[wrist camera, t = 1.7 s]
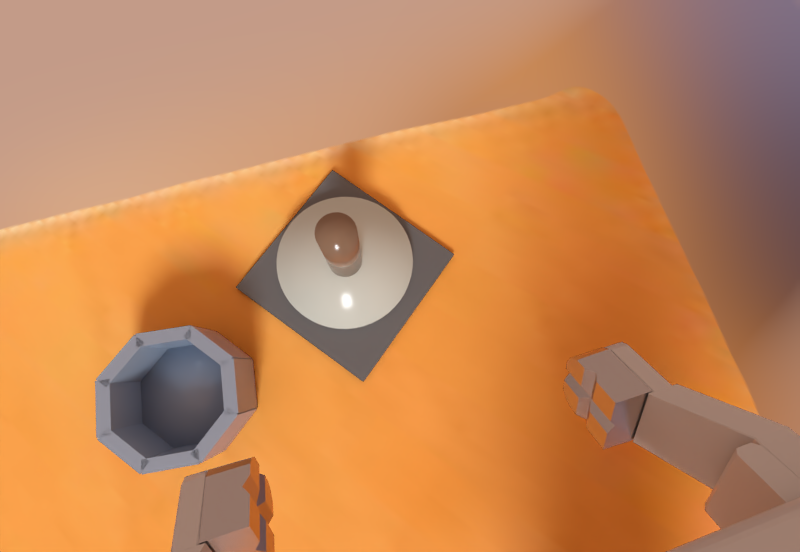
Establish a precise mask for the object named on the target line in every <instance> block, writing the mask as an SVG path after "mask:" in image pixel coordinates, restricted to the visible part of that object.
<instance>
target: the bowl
mask: <svg viewBox="0 0 800 552" xmlns="http://www.w3.org/2000/svg"><path fill="white" fill-rule="evenodd" d="M251 359H252V358H251V357H250V356H248V355H247V354H246V353H244V352H243V351H242V350H241V349H239V348H238V347H237V346H235V345H234V344H233V343H231V342H230V341H229V340H227V339H226V338H225V337H223V336H222V335H221V334H219V333H218V332H217V331H213V330H209V329H204V328H200V327H195V326H191V325H189V326H183V327H176V328H170V329H164V330H157V331H151V332H145V333H138V334H136V335H134V336H133V337H132V338H131V339H130V340H129V341H128V343H127V344H126V345H125V346H124V347H123V348H122V350H121V351H120V352H119V353H118V354H117V355H116V357H115V358H114V359H113V360H112V361H111V362H110V364H109V365H108V366H107V367H106V368H105V369H104V371H103V372H102V373H101V374H100V375H99V376H98V378H97V379H96V380H97V381H95V391H96V436H97V438H98V439H97V440H99V441H100V442H101V443H102V444H103V445H105V446H106V447H107V448H108V449H110V450H111V451H112V452H113V453H115V454H116V455H117V456H118V457H120V458H121V459H122V460H123V461H124V462H126V463H127V464H128V465H129V466H131V467H132V468H133V469H134V470H136V471H137V472H138V473H139V474H141V473H142V474H146V473H152V472H157V471H163V470H168V469H174V468H179V467H185V466H190V465H196V464H200V463H202V462H204V461H206V460H208V459H210V458H212V457H213V456H215V455H217V454H219V453H221V452H223V451H224V450H226V449H227V448H228V446H229V445H230V444H231V442H232V441H233V440H234V438H235V437H236V436H237V434H238V433H239V432H240V430H241V429H242V428H243V427H244V425H245V424H246V423H247V421H248V420H249V419H250V417H251V416H252V415H253V413H254V412H255V411H256V409H257V408H256V407H257V397H256V386H255V376H254V365H253V360H251Z"/></svg>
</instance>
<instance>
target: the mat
mask: <svg viewBox="0 0 800 552" xmlns="http://www.w3.org/2000/svg"><path fill="white" fill-rule="evenodd" d="M335 197H356V198H362V199H365V200H368V201H371V202H373V203H376V204H378V205H380V206H381V207H383V208H384V209H386V210H387V211H388V212H390V213H391V214H392V215H393V216H394V217H395V218H396V219H397V220H398V221H399V223H400V224H401V225H402V227H403V228H404V230H405V232H406V234H407V236H408V239H409V241H410V245H411V249H412V256H413V268H412V274H411V278H410V282H409V285H408V287H407V290H406V292H405V294H404V296H403V297H402V299H401V300H400V302H399V303H398V304H397V306H396V307H395V308H394V309H393V310H392V311H391V312H390V313H389V314H387V315H386V316H385V317H383V318H382V319H380V320H378V321H376V322H375V323H373V324H370V325H367V326H364V327H360V328H356V329H334V328H328V327H325V326H322V325H319V324H317V323H315V322H313V321H311V320H309V319H308V318H306V317H305V316H303V315H302V314H301V313H300V312H298V311H297V310H296V309H295V308H294V307H293V306H292V304H291V303H290V302H289V301H288V299H287V298H286V296H285V294H284V292H283V290H282V288H281V286H280V283H279V280H278V274H277V263H276V262H277V252H278V248H279V244H280V242H281V239H282V236H283V235H284V233H285V231H286V229H287V228H288V226H289V225H290V223H291V222H292V221H293V220H294V219H295V218H296V217H297V216H298V215H299V214H300V213H301V212H303V211H304V210H305V209H307V208H308V207H310V206H311V205H314V204H316V203H318V202H320V201H323V200H326V199H330V198H335ZM453 255H454V254H453V253H451V252H450V251H449V250H447V249H446V248H444V247H443V246H441V245H440V244H438V243H437V242H436V241H434V240H433V239H431V238H430V237H428V236H427V235H425V234H424V233H423V232H421V231H420V230H418V229H417V228H415V227H414V226H412V225H411V224H410V223H408V222H407V221H405V220H404V219H402V218H401V217H399V216H398V215H397V214H395V213H394V212H392V211H391V210H389V209H388V208H387V207H385V206H384V205H382V204H381V203H379V202H378V201H376V200H375V199H374V198H372V197H371V196H369V195H368V194H366V193H365V192H363V191H362V190H361V189H359V188H358V187H356V186H355V185H353V184H352V183H350V182H349V181H348V180H346V179H345V178H343V177H342V176H340V175H339V174H337V173H336V172H335V171H333V170H332V171H331V173H330V174H329V175H328V176H327V177H326V179H325V180H324V181H323V182H322V184H321V185H320V186H319V187H318V188H317V190H316V191H315V192H314V193H313V194H312V196H311V197H310V198H309V199H308V201H307V202H306V203H305V204H304V205H303V207H302V208H301V209H300V210H299V211H298V213H297V214H296V215H295V216H294V218H293V219H292V220H291V221H290V222H289V224H288V225H287V226H286V227H285V228H284V230H283V231H282V232H281V233H280V235H279V236H278V237H277V238H276V239H275V241H274V242H273V243H272V244H271V245H270V247H269V248H268V249H267V250H266V252H265V253H264V254H263V255H262V256H261V258H260V259H259V260H258V261H257V262H256V264H255V265H254V266H253V267H252V269H251V270H250V271H249V272H248V273H247V275H246V276H245V277H244V278H243V279H242V281H241V282H240V283H239V284H238V286H237V287H236V288H237V289H239V290H240V291H241V292H243V293H244V294H246V295H247V296H248V297H250V298H251V299H252V300H254V301H255V302H256V303H258V304H259V305H260V306H262V307H263V308H264V309H266V310H267V311H268V312H270V313H271V314H273V315H274V316H275V317H277V318H278V319H279V320H281V321H282V322H283V323H285V324H286V325H287V326H289V327H290V328H291V329H293V330H294V331H295V332H297V333H298V334H299V335H301V336H302V337H304V338H305V339H306V340H308V341H309V342H310V343H312V344H313V345H314V346H316V347H317V348H318V349H320V350H321V351H322V352H324V353H325V354H326V355H328V356H329V357H331V358H332V359H333V360H335V361H336V362H337V363H339V364H340V365H341V366H343V367H344V368H345V369H347V370H348V371H349V372H351V373H352V374H353V375H355V376H356V377H358V378H359V379H360V380H362V381H363V382H364V380H365V379H366V377H367V376H368V375H369V373H370V372H371V370H372V369H373V368H374V366H375V365H376V363H377V362H378V361H379V359H380V358H381V356H382V355H383V354H384V352H385V351H386V349H387V348H388V347H389V345H390V344H391V342H392V341H393V340H394V338H395V337H396V335H397V334H398V332H399V331H400V330H401V328H402V327H403V325H404V324H405V323H406V321H407V320H408V318H409V317H410V316H411V314H412V313H413V311H414V310H415V309H416V307H417V306H418V304H419V303H420V302H421V300H422V299H423V297H424V296H425V295H426V293H427V292H428V290H429V289H430V288H431V286H432V285H433V283H434V282H435V281H436V279H437V278H438V276H439V275H440V273H441V272H442V271H443V269H444V268H445V266H446V265H447V264H448V262H449V261H450V259H451V258H452V257H453Z"/></svg>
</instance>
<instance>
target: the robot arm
mask: <svg viewBox="0 0 800 552" xmlns="http://www.w3.org/2000/svg"><path fill="white" fill-rule="evenodd" d="M566 369H567V370H568V371H569V375H568V376H567V377H566V378H565V380H564V387H563V389H564V393H565V397H566V400H567V402H568V404H569V405H570V407H571V408H572V410H573V411H574V412H575V414H577V415H579V416H581V417H583V418H585V419H586V428H587V429H588V431H589V432H590V433H591V435H592V436H593V437H594V438H595V440H596V441H597V442H598V444H599V445H600V446H601V447H602V449H606V448H609V447H612V446H615V445H618V444H622V443H625V442H628V441H631V440H633V442H634V443H636V444H638V445H639V446H641V447H643V448H644V449H646V450H648V451H649V452H651V453H653V454H654V455H656V456H658V457H659V458H661V459H663V460H664V461H666V462H668V463H670V464H671V465H673V466H675V467H676V468H678V469H680V470H681V471H683V472H685V473H686V474H688V475H690V476H691V477H693V478H695V479H697V480H698V481H700V482H702V483H703V484H705V485H707V486H708V487H710V488H712V489H713V490H712V492H711V494H710V496H709V497H708V499H707V501H706V503H705V511H706V512H707V513H708V514H709V516H710V517H711V518H712V519H713V520H714V521H715V523H716V524H717V525H718V526H719V527H720V528H721V529H720V530H718V531H715V532H713V533H710V534H708V535H705V536H703V537H700V538H698V539H696V540H693V541H691V542H688V543H686V544H683V545H681V546H678V547H676V548H674V549H671V550H669V551H666V552H800V436H799V435H798V434H797V433H795V432H794V431H793V430H792V429H790V428H789V427H787V426H784V425H782V424H779V423H777V422H774V421H771V420H769V419H766V418H764V417H761V416H759V415H756V414H753V413H751V412H748V411H746V410H743V409H740V408H738V407H735V406H733V405H730V404H727V403H725V402H722V401H720V400H717V399H715V398H712V397H709V396H707V395H704V394H702V393H699V392H696V391H694V390H691V389H689V388H686V387H684V386H681V385H678V384H675V385H671V384H670V383H669V382H668V381H667V380H665V379H664V378H663V377H662V376H661V375H660V374H659V373H658V372H657V371H656V370H655V369H654V368H652V367H651V366H650V365H649V364H648V363H647V362H646V361H645V360H644V359H643V358H642V357H641V356H639V355H638V354H637V353H636V352H635V351H634V350H633V349H632V348H631V347H630V346H629V345H627V344H625V343H623V342H620V343H616V344H613V345H610V346H607V347H604V348H599V349H596V350H593V351H590V352H587V353H584V354H581V355H578V356H575V357H572V358H570V359H569V360H568V361H567V366H566ZM272 517H273V501H272V495H271V490H270V486H269V483H268V481H267V479H266V477H265V475H262V474H259V464H258V462H257V460H256V459H255V457H252V458H248V459H245V460H241V461H238V462H234V463H231V464H228V465H224V466H221V467H217V468H214V469H210V470H206V471H203V472H200V473H197V474H193V475H190V476H187V477H185V478H184V481H183V483H182V485H181V490H180V497H179V503H178V509H177V516H176V522H175V529H174V535H173V542H172V548H171V552H275V551H274V534H273V532H272V531H271V529H270V527H269V525H268V524H269V522H270V521H271V519H272Z"/></svg>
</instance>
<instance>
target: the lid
mask: <svg viewBox="0 0 800 552" xmlns="http://www.w3.org/2000/svg"><path fill="white" fill-rule="evenodd" d="M276 263H277V274H278V280H279V283H280V286H281V288H282V290H283V292H284V294H285V296H286V298H287V299H288V301H289V302H290V303H291V304H292V306H293V307H294V308H295V309H296V310H297V311H298V312H300V313H301V314H302V315H303V316H305V317H306V318H308V319H309V320H311V321H313V322H315V323H317V324H319V325H322V326H325V327H328V328H334V329H356V328H360V327H364V326H367V325H370V324H373V323H375V322H376V321H378V320H380V319H382V318H383V317H385V316H386V315H387V314H389V313H390V312H391V311H392V310H393V309H394V308H395V307H396V306H397V304H398V303H399V302H400V300H401V299H402V297H403V296H404V294H405V292H406V290H407V287H408V285H409V282H410V278H411V274H412V268H413V256H412V249H411V245H410V241H409V239H408V236H407V234H406V232H405V230H404V228H403V227H402V225H401V224H400V223H399V221H398V220H397V219H396V218H395V217H394V216H393V215H392V214H391V213H390V212H388V211H387V210H386V209H384V208H383V207H381V206H380V205H378V204H376V203H373V202H371V201H368V200H365V199H362V198H356V197H335V198H330V199H326V200H323V201H320V202H318V203H316V204H314V205H311V206H310V207H308V208H307V209H305V210H304V211H303V212H301V213H300V214H299V215H298V216H297V217H296V218H295V219H294V220H293V221H292V222H291V223H290V225H289V226H288V228H287V229H286V231H285V233H284V235H283V236H282V239H281V242H280V244H279V248H278V252H277V262H276Z"/></svg>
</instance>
